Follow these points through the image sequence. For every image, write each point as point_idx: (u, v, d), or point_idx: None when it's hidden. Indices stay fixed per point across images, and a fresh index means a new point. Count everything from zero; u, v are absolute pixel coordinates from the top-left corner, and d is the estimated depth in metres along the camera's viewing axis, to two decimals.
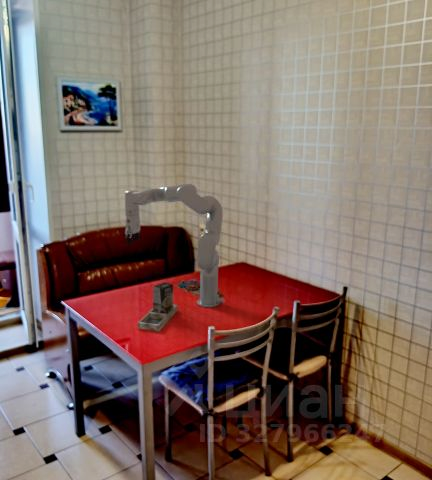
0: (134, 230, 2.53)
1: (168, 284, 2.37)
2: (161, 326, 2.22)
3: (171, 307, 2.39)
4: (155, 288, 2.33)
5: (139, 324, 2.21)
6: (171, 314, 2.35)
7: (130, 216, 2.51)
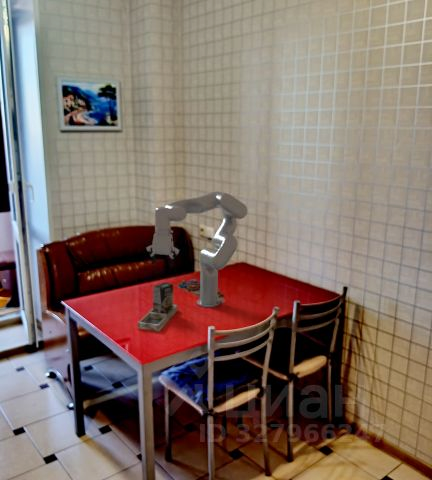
0: None
1: (168, 284, 2.37)
2: (161, 326, 2.22)
3: (171, 307, 2.39)
4: (155, 288, 2.33)
5: (139, 324, 2.21)
6: (171, 314, 2.35)
7: (170, 234, 2.29)
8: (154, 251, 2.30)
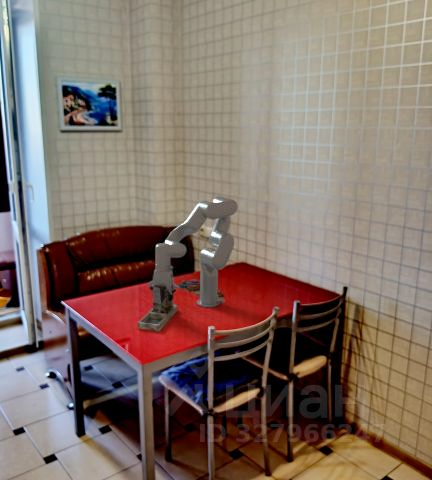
0: None
1: None
2: (161, 326, 2.22)
3: (171, 307, 2.39)
4: (155, 288, 2.33)
5: (139, 324, 2.21)
6: (171, 314, 2.35)
7: (171, 270, 2.33)
8: None
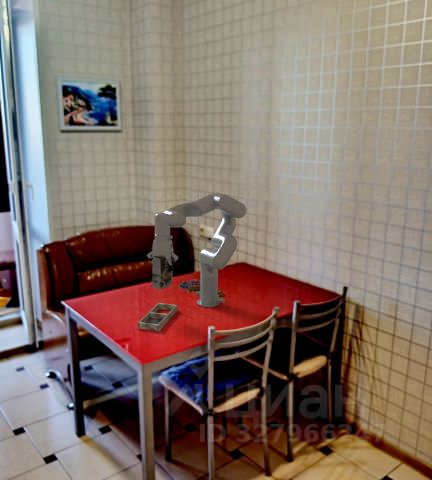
0: None
1: None
2: (161, 326, 2.22)
3: (170, 279, 2.35)
4: (155, 259, 2.29)
5: (139, 324, 2.21)
6: (171, 314, 2.35)
7: (170, 240, 2.29)
8: None
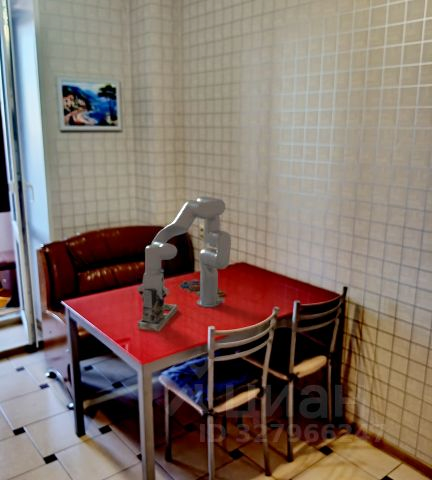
0: None
1: None
2: (161, 326, 2.22)
3: (162, 312, 2.26)
4: (146, 291, 2.20)
5: (139, 324, 2.21)
6: (171, 314, 2.35)
7: (161, 273, 2.20)
8: None
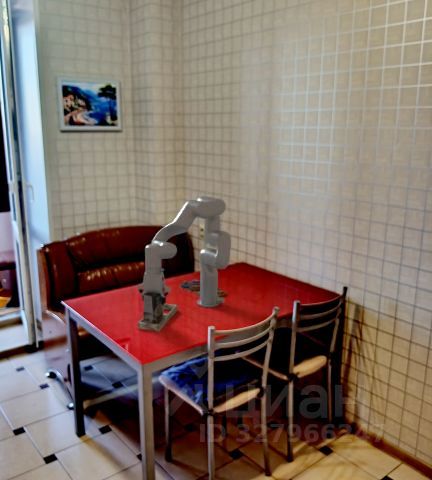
0: None
1: None
2: (161, 326, 2.22)
3: (162, 315, 2.27)
4: (146, 297, 2.20)
5: (139, 324, 2.21)
6: (171, 314, 2.35)
7: (162, 273, 2.20)
8: (145, 290, 2.22)
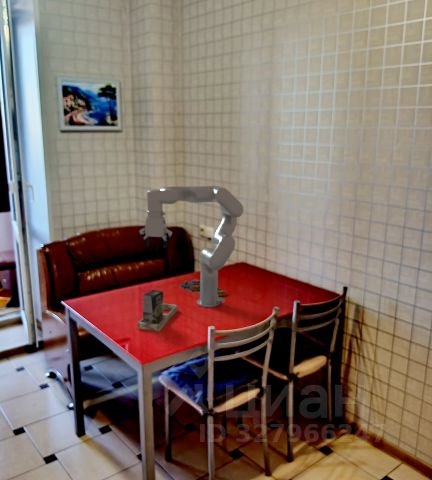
0: None
1: (158, 291, 2.25)
2: (161, 326, 2.22)
3: (161, 315, 2.27)
4: (145, 297, 2.20)
5: (139, 324, 2.21)
6: (171, 314, 2.35)
7: (163, 217, 2.30)
8: (147, 234, 2.31)
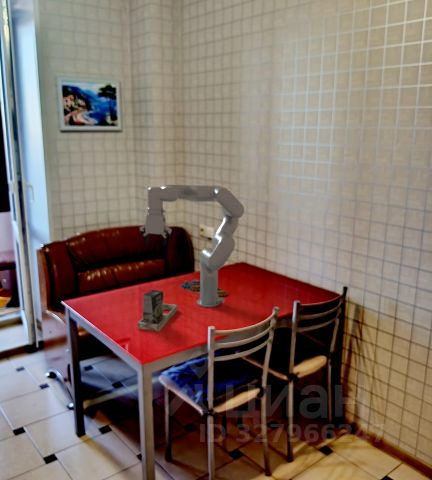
0: None
1: (158, 291, 2.25)
2: (161, 326, 2.22)
3: (161, 315, 2.27)
4: (145, 297, 2.20)
5: (139, 324, 2.21)
6: (171, 314, 2.35)
7: (163, 214, 2.32)
8: (147, 231, 2.33)
